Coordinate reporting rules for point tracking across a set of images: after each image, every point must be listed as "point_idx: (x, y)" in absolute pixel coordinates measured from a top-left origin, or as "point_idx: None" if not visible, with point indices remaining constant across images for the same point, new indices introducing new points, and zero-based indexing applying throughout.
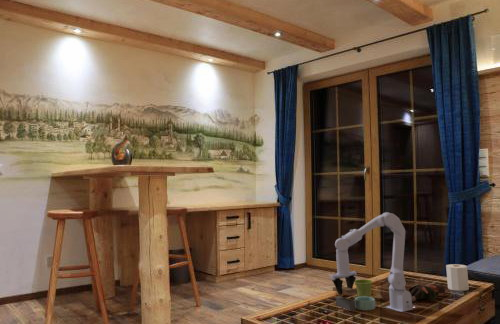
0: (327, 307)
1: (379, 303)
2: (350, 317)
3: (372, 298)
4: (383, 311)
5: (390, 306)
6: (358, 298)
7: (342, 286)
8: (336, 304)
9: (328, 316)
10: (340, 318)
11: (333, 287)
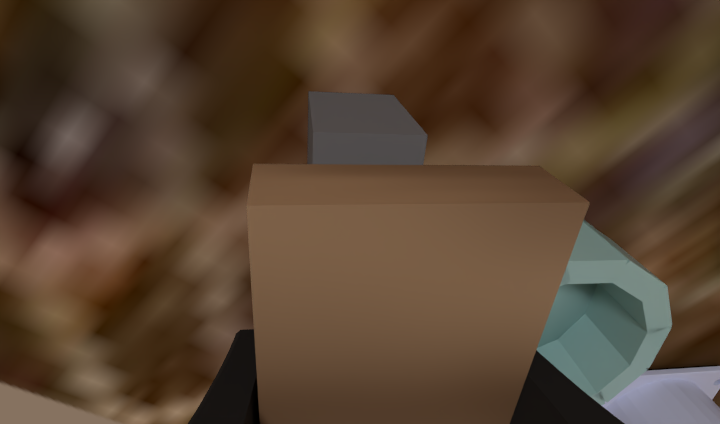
0: (190, 20)
1: (707, 268)
2: (195, 408)
3: (619, 378)
4: None
5: (616, 406)
6: (566, 276)
7: (526, 282)
8: (309, 110)
9: (3, 307)
10: (95, 393)
11: (249, 247)
